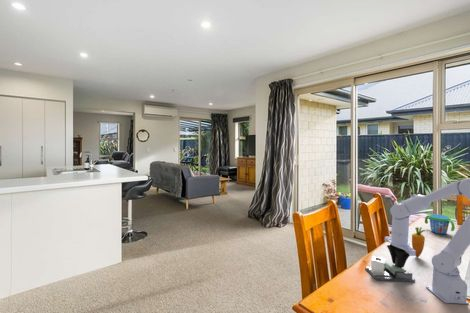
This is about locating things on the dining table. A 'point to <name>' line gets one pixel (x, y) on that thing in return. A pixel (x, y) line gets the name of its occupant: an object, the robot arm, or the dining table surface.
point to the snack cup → (439, 223)
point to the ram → (394, 267)
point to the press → (391, 275)
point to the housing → (378, 265)
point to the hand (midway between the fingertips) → (398, 265)
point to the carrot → (418, 241)
